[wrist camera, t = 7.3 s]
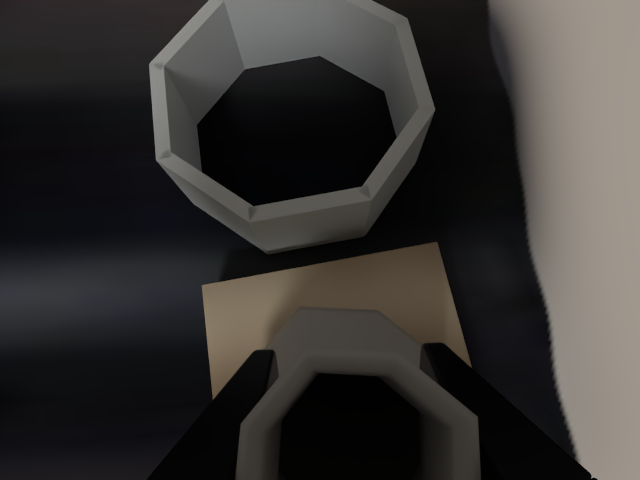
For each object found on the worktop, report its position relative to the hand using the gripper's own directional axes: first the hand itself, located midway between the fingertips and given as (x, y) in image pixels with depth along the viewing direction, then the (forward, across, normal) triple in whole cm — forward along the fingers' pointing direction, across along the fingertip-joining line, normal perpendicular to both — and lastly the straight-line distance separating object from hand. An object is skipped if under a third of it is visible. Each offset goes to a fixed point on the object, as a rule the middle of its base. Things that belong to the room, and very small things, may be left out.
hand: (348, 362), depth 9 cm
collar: (+15, +2, -1) cm, 15 cm away
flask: (+4, 0, +6) cm, 7 cm away
